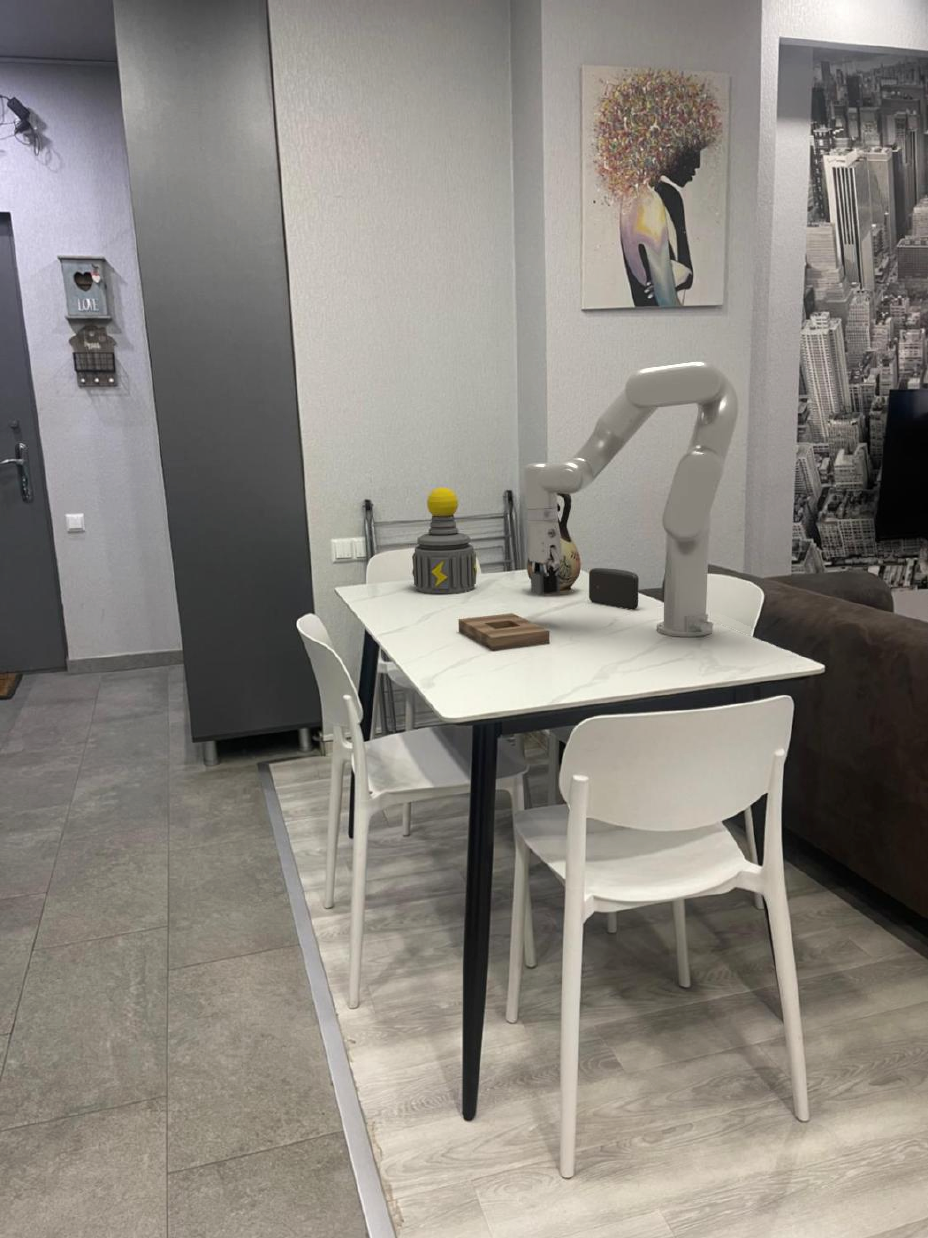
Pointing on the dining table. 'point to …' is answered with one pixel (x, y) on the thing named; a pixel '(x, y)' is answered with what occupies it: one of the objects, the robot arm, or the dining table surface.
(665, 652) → the dining table surface
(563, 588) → the ceramic jug
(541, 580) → the plug
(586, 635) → the dining table surface
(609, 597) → the rounded red-dot block
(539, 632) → the socket board
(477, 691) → the dining table surface
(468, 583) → the decorative lamp
